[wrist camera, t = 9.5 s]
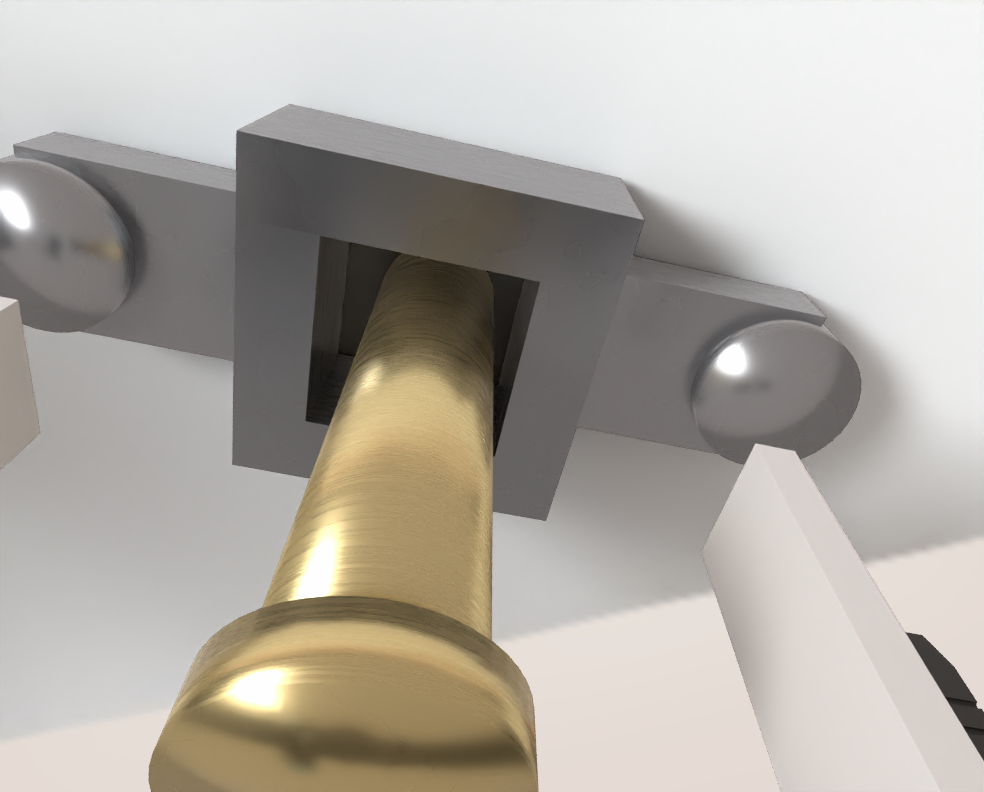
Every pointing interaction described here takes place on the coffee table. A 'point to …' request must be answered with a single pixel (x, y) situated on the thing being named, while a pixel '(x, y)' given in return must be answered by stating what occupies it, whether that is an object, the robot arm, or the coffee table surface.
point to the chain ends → (425, 233)
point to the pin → (376, 587)
